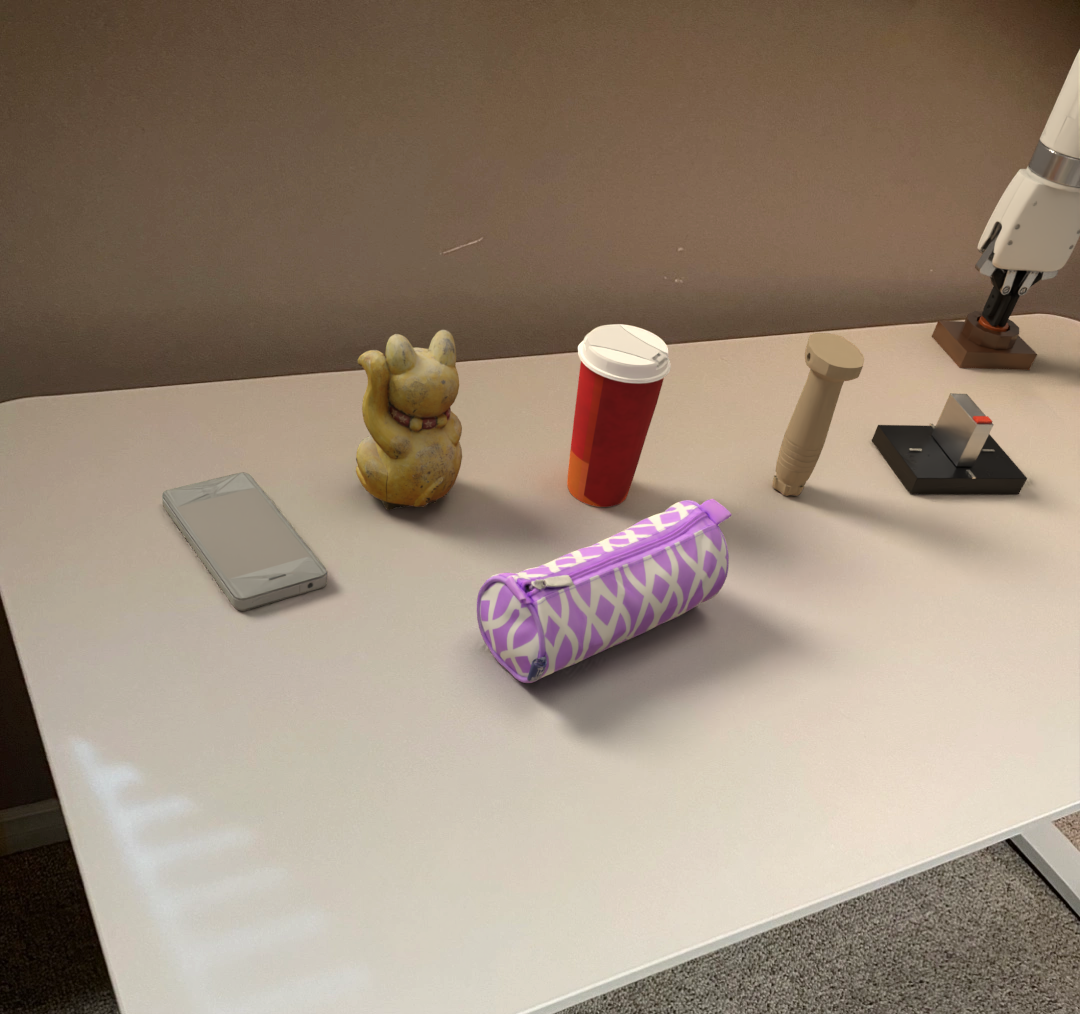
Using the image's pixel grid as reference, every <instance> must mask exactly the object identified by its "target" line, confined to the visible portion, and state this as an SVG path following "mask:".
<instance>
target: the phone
mask: <svg viewBox="0 0 1080 1014" xmlns="http://www.w3.org/2000/svg"><path fill="white" fill-rule="evenodd" d="M161 500H162V501H161V502H162V506H163V508H164V510H165V511H166V513H167V514H168V516H169V517H170V518H171V520H172V521H173V523H174V524H175V525H176V527H177V529H178V531H180V533H181V535H182V536H183V538H184V539H186V541H187V543H188V544H189V545H190V547H191V548H192V550H193V552H194V553H195V554H196V556H197V557H198V558H199V560H200V561H201V562H202V564H203V565H204V567H205V568H206V570H207V571H208V572H209V574H210V575H211V577H212V578H213V579H214V581H215V582H216V584H217V585H218V586H219V588H220V590H221V591H222V592H223V593H224V595H225V596H226V598H227V599H228V601H229V602H230V604H231V605H232V606H233V607H234V609H236V610H237V611H241V612H246V611H248V610H252V609H255V608H259V607H262V606H266V605H269V604H273V603H276V602H279V601H283V600H286V599H289V598H293V597H296V596H300V595H303V594H306V593H309V592H313V591H316V590H319V589H323V588H324V587H326V586H327V583H328V570H327V568H326V566H325V565H324V564H323V563H322V561H321V560H320V559H319V557H317V555H316V554H315V553H314V551H313V550H312V549H311V548H310V547H309V545H308V544H307V543H306V541H305V540H304V539H303V538H302V537H301V535H300V534H299V533H298V531H297V530H296V529H295V528H294V527H293V526H292V524H291V523H290V522H289V520H288V519H287V517H285V516H284V514H283V513H282V512H281V510H280V509H279V508H278V507H277V505H276V504H275V502H273V500H272V499H271V498H270V497H269V496H268V494H267V493H266V492H265V491H264V489H263V488H262V487H261V486H260V484H259V483H258V481H256V480H255V478H254V477H253V476H252V474H250V473H248V472H243V471H242V472H237V473H232V474H229V475H223V476H220V477H216V478H210V479H207V480H203V481H198V482H195V483H190V484H186V485H182V486H177V487H173V488H169V489H165V490H164V491H163V492H162V494H161Z"/></svg>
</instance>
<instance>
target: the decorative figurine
mask: <svg viewBox="0 0 1080 1014" xmlns="http://www.w3.org/2000/svg"><path fill="white" fill-rule="evenodd" d="M385 345H386V347H385V353H383V352H381V351H379V350H377V349H370V350H367V351H365V352H363V353H362V354H361V355H359V357H358V359H357V364H358V366H360V367H362V369H363V370H364V372H365V374H366V376H367V385H366V389H365V392H364V395H363V398H362V405H361V413H362V419H363V423H364V425H365V427H366V429H367V431H368V433H369V434H370V436H369V435H368V436H367V437H365V438H363V439H362V440H361V441H360V443H359V445H357V450H356V455H355V460H356V466H355V472H356V475H357V478H358V480H359V482H360V484H361V486H362V487H363V488H364V489H365V491H366V492H368V493H369V495H371V496H373V497H374V498H375V499H378V500H379V501H380V502H381V503H382V504H383V507H384V508H385V510H386V511H392V510H395V509H399V508H400V509H401V508H406V507H408V508H409V507H414V508H422V507H424V508H425V507H426V506H427V505H430V504H435V503H437V500H440V499H441V498H444V497H445V496H447V495H448V493H449V492H450V491H451V489H452V488H453V486H454V485H455V484H456V481H457V479H458V476H459V473H460V469H461V465H462V460H463V450H462V445H461V443H460V440H461V438H462V433H463V432H462V431H463V426H462V422H461V420H460V418H459V417H458V416H457V414H455V413H454V412H453V411H452V410H451V407H452V405H453V404H454V403H455V401H456V399H457V397H458V394H459V389H460V377H459V374H458V373H459V372H458V369H457V366H456V364H457V350H456V343H455V339H454V335H453V334H452V333H451V332H450V331H449V330H447V329H440V330H438V331H437V332H436V333H435V334H434V335H433V337H432V339H431V340H430V343H429V345H428V348H425V347H424V348H423V347H413V345H412V344H411V342H410V341H409V339H408V338H407V337H406V336H404V335H402V334H400V333H395V334H392V335H390V337H389V338H388V340H387V342H386V344H385Z"/></svg>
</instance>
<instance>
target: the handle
mask: <svg viewBox="0 0 1080 1014" xmlns="http://www.w3.org/2000/svg"><path fill="white" fill-rule="evenodd" d="M804 361H805V365H806V366H807V367H808V368H809V372H808V375H807V378H806V381H805V383H804V385H803V388H802V389H801V390H802V391H801V392H800V395H799V398H798V401H797V403H796V405H795V408H794V410H793V412H792V414H791V417H790V420H789V422H788V425H787V427H786V430H785V432H784V435H783V439H782V441H781V444H780V448H779V451H778V456H777V459H776V464H775V475H773V479H772V484H771V485H772V488H773V489H774V490H775V491H778V492H779V493H781V494H782V495H783V496H785V497H788V496H794V497H798V496H800V495H801V494H802V491H803V490H804V487H805V485H806V483H807V482H808V480H809V478H811V475H812V474H813V472H814V471H815V468H816V466H817V464H818V461H819V459H820V456H821V453H822V451H823V448H824V445H825V443H826V441H827V437H828V433H829V430H830V427H831V423H832V420H833V417H834V412H835V411H836V410H835V409H836V407H837V403H838V400H839V397H840V394H841V391H842V388H843V385H844V383H845V382H850V381H853V380H856V379H858V378H859V377H860V375H861V372H862V370H863V367H864V363H865V356H864V355H863V353H862V352H861V350H860V348H859V347H858V346H856V345H855V344H854V343H853V342H852V341H850V340H848V339H847V338H845V337H843V336H841V335H838V334H835V333H829V332H815V333H811V334H809V337H808V341H807V343H806V346H805V352H804Z"/></svg>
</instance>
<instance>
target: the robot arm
mask: <svg viewBox="0 0 1080 1014" xmlns="http://www.w3.org/2000/svg"><path fill="white" fill-rule="evenodd" d="M1079 238H1080V48H1079V49H1078V52H1077V54H1076V56H1075V58H1074V60H1073V62H1072V65H1071V67H1070V69H1069V71H1068V73H1067V75H1066V79H1065V80H1064V83H1063V85H1062V87H1061V89H1060V92H1059V94H1058V96H1057V98H1056V101H1055V103H1054V106H1053V107H1052V110H1051V112H1050V114H1049V117H1048V118H1047V121H1046V123H1045V126H1044V128H1043V130H1042V133H1041V135H1040V137H1039V139H1038V141H1037V144H1036V146H1035V149H1034V151H1033V153H1032V155H1031V157H1030V160H1029V162H1028V165H1027V167H1026V168H1020V169H1019V170H1018V171H1017V172H1016V174H1015V175H1014V177H1013V178H1012V179H1011V181H1010V182H1009V184H1008V185H1007V187H1006V188H1005V190H1004V192H1003V193H1002V195H1001V197H1000V199H999V200H998V202H997V204H996V206H995V208H994V210H993V211H992V213H991V216H990V218H989V219H988V221H987V223H986V225H985V227H984V230H983V232H982V234H981V236H980V238H979V241H978V244H977V248H976V249H977V251H978V252H979V253H980V254H981V256H980V257H979V259H978V260H977V262H976V263H975V265H974V268H975V270H976V271H977V272H978V273H979V274H981V275H983V276H986V277H988V278H990V284H991V285H992V286H993V287H992V289H991V291H990V293H989V295H988V298H987V300H986V302H985V305H984V307H983V310H982V311H983V312H982V316H983V317H984V318H985V319H986V320H987V321H988V322H989V324H990V325H991V326H998V325H999V326H1000V327H1004V326H1005V325H1006V323H1007V321H1008V319H1009V320H1010V317H1011V315H1012V313H1013V311H1014V309H1015V307H1016V305H1017V303H1018V302H1019V299H1020V297H1022V296H1025V295H1026V294H1028V292H1029V290H1030V288H1031V287H1032V286H1034V285H1035V284H1037V283H1039V282H1040V281H1045V280H1050V279H1053V278H1056V277H1057V276H1058V274H1059V270H1061V269H1063V268H1064V267H1065V265H1066V264H1067V262H1068V261H1069V259H1070V257H1071V255H1072V253H1073V251H1074V250H1075V247H1076V245H1077V243H1078V241H1079Z"/></svg>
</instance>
